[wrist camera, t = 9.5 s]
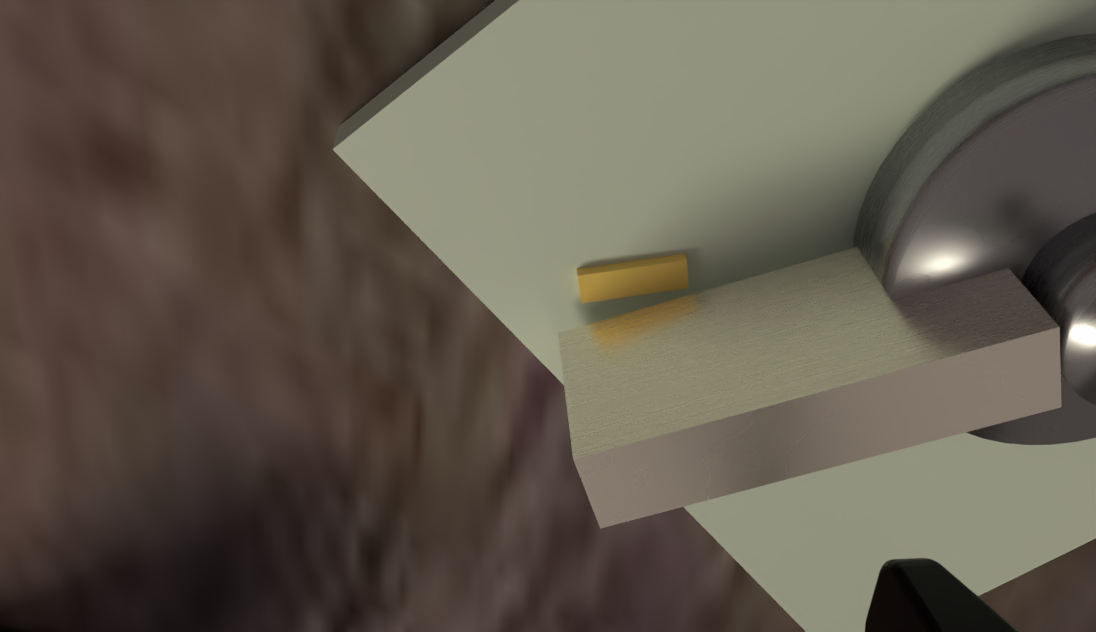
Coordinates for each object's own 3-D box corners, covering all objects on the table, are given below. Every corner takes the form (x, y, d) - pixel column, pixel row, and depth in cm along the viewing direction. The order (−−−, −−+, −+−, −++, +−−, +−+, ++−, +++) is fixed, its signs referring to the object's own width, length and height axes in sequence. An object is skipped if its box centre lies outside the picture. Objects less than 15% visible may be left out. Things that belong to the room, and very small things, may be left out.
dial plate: (1586, 248, 21) (1647, 281, 20) (826, 632, 26) (842, 674, 25) (1406, -735, 12) (1494, -772, 11) (339, 125, 18) (330, 157, 17)
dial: (1263, -24, 16) (1453, 53, 13) (1230, 323, 20) (1371, 447, 17) (512, 204, 17) (519, 323, 14) (616, 487, 21) (640, 630, 18)
